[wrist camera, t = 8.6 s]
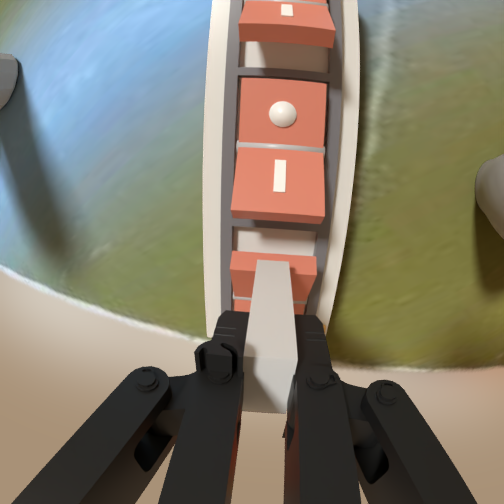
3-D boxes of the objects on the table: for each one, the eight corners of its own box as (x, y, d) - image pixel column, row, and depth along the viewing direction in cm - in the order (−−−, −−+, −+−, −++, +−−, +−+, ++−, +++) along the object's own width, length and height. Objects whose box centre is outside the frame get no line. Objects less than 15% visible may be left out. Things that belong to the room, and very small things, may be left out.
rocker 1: (250, -18, 12) (248, -42, 9) (320, -13, 11) (324, -37, 9) (239, 56, 12) (235, 27, 9) (329, 62, 11) (338, 35, 9)
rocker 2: (233, 235, 16) (227, 264, 14) (316, 241, 16) (319, 270, 14) (236, 318, 21) (232, 344, 19) (297, 322, 21) (298, 349, 19)
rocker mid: (244, 92, 15) (240, 72, 12) (321, 97, 15) (328, 79, 12) (234, 219, 15) (228, 217, 13) (318, 224, 15) (326, 224, 13)
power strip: (234, -74, 10) (226, -102, 6) (335, -68, 10) (343, -95, 6) (216, 308, 25) (205, 342, 20) (317, 315, 24) (324, 350, 20)
